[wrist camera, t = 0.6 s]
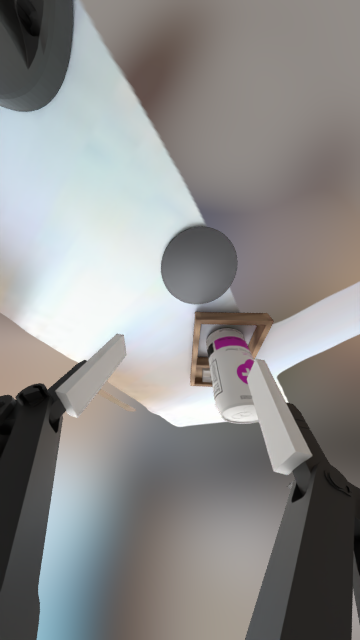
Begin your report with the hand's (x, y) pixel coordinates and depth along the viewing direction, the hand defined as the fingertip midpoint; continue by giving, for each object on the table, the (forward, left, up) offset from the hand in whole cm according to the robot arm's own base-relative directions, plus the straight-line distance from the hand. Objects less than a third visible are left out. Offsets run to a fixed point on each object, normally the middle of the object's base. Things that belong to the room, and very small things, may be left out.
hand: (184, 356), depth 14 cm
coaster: (-4, +2, -14) cm, 15 cm away
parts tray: (+16, +9, -14) cm, 23 cm away
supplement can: (+11, +9, -14) cm, 20 cm away
